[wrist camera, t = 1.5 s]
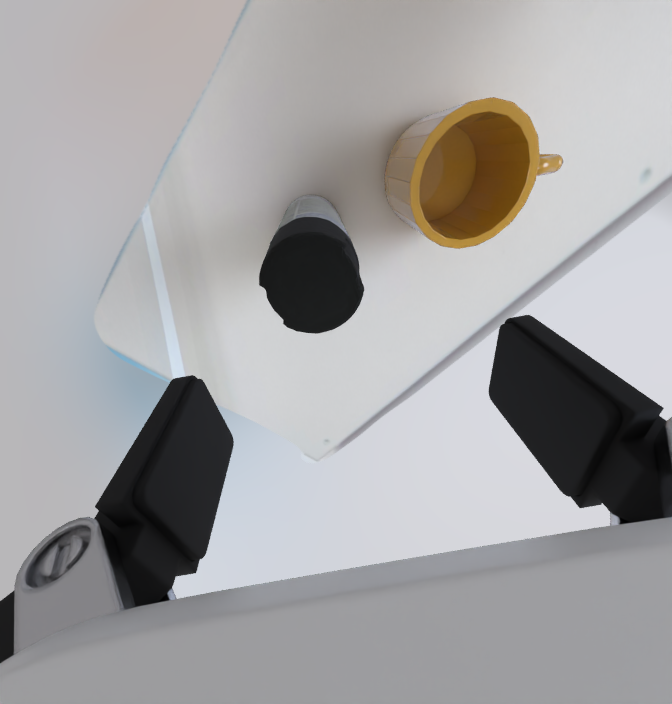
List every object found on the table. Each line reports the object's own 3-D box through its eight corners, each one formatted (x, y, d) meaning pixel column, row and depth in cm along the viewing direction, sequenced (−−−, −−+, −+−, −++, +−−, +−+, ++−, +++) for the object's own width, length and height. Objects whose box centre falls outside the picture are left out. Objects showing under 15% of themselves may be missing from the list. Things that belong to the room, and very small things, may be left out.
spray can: (299, 263, 37) (291, 351, 20) (271, 208, 33) (235, 262, 17) (348, 240, 36) (382, 314, 19) (325, 181, 32) (343, 209, 16)
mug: (387, 233, 36) (410, 257, 27) (381, 124, 30) (409, 113, 21) (501, 212, 35) (560, 230, 27) (518, 98, 29) (600, 76, 21)
